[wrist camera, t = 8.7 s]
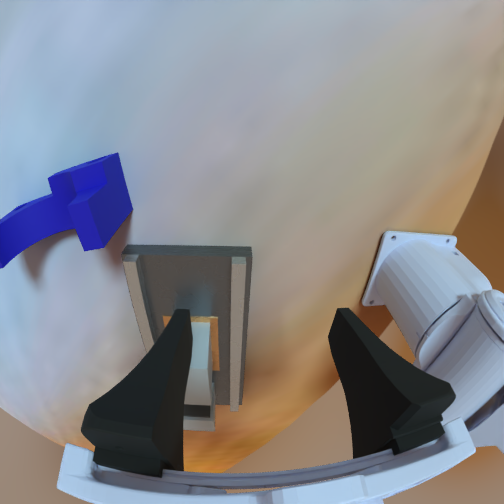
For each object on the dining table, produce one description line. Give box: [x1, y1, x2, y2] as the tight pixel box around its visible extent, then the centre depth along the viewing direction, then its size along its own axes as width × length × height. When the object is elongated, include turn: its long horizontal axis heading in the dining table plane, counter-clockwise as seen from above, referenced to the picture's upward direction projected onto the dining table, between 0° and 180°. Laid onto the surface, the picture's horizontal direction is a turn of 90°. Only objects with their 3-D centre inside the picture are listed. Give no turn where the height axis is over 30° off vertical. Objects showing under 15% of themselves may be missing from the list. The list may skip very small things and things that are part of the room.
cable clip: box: [0, 153, 133, 268], centre depth 16 cm, size 12×4×6 cm, turn 97°
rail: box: [121, 245, 252, 411], centre depth 26 cm, size 10×22×2 cm, turn 177°
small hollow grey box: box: [183, 383, 215, 431], centre depth 27 cm, size 4×3×5 cm
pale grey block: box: [184, 322, 213, 405], centre depth 23 cm, size 4×6×5 cm, turn 177°
